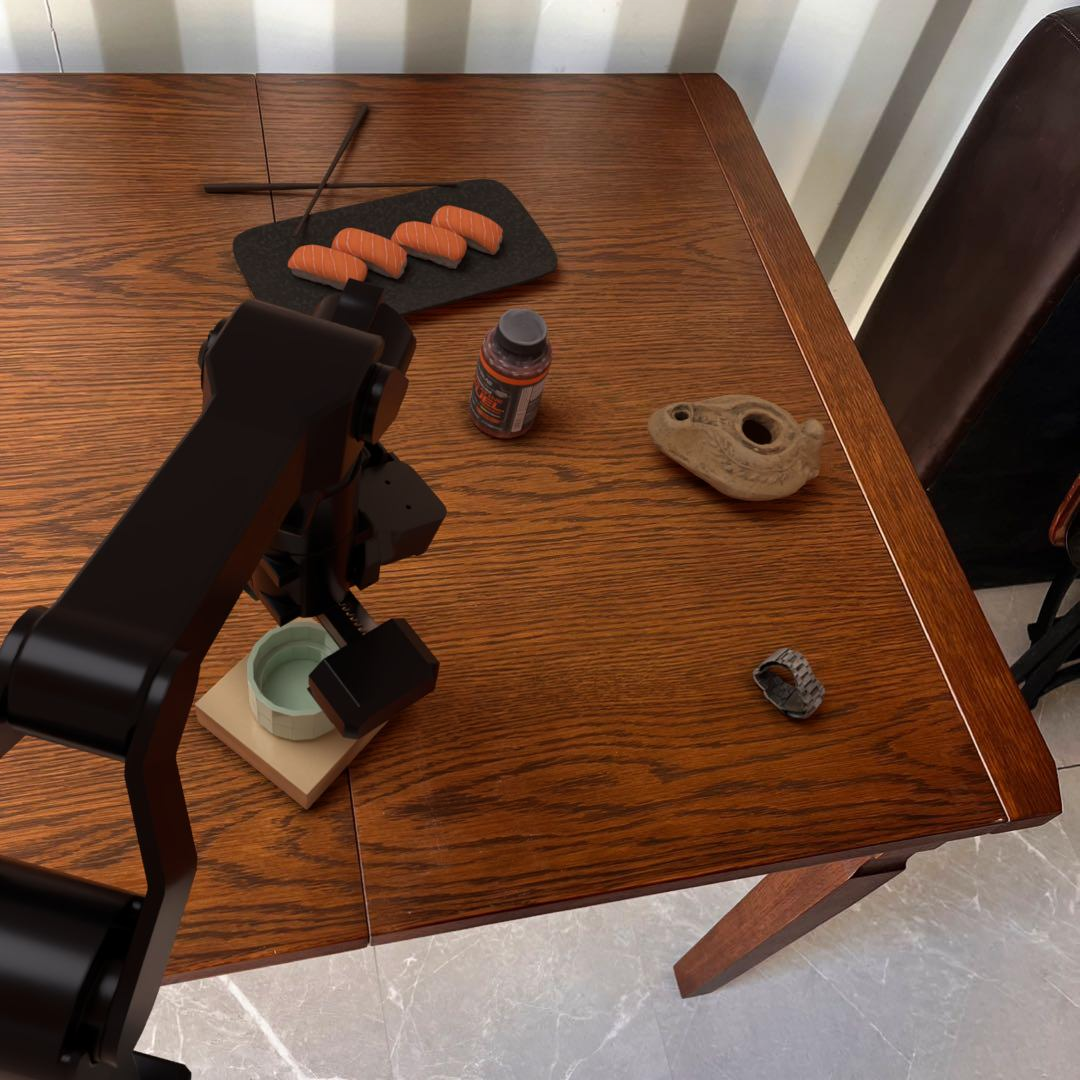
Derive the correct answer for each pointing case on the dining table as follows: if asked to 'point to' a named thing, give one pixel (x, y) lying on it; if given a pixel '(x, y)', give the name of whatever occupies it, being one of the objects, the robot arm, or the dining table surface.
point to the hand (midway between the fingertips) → (301, 649)
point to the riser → (275, 740)
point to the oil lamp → (740, 445)
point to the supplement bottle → (511, 374)
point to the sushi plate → (394, 244)
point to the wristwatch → (784, 695)
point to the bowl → (288, 680)
